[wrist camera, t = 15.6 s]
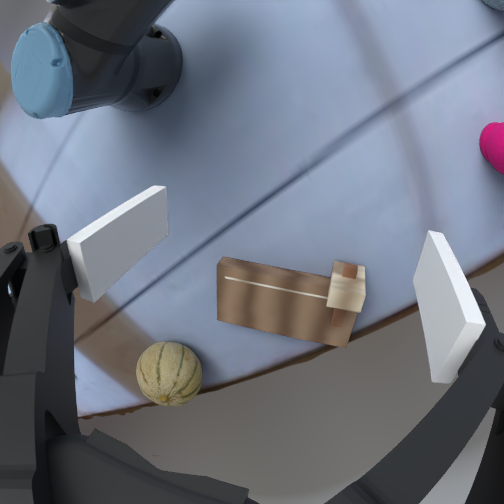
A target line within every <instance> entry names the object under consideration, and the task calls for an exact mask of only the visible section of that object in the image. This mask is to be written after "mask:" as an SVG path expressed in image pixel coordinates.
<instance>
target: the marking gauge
mask: <svg viewBox="0 0 504 504" xmlns="http://www.w3.org/2000/svg"><path fill="white" fill-rule="evenodd" d="M365 296H366V290H365V266H361V265H356V264H350V263H345V262H340V261H334V264H333V269H332V273H331V279H330V286H329V292H328V299H327V305H326V306H328V307H333V308H334V310H333V313H332V317H331V322H330V326H335V327H341V328H342V326H343V323H344V319H345V316H346V312H347V310H349V311H354V312H361V309H362V306H363V303H364V299H365Z"/></svg>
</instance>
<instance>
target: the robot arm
mask: <svg viewBox="0 0 504 504" xmlns="http://www.w3.org/2000/svg"><path fill="white" fill-rule="evenodd" d="M46 1H47V2H50V3H53V4H57V7H56V9H55V10H54V12H53V14H52V15H51V17H50V19H49V20H48V22H47V23H45V22H41V23H37V24H36V25H33V26H31V27H30V28H29V29H27V30H26V31H24V32H23V34H22V35H21V36H20V38H19V40H18V42H17V44H16V46H15V49H14V53H13V57H12V63H11V79H12V87H13V91H14V95H15V97H16V100H17V102H18V104H19V105H20V107H21V108H22V109H23V111H24V112H25V113H27V114H28V115H29V116H31V117H33V118H37V119H45V118H50V117H62V116H64V115H68V114H72V113H76V112H80V111H84V110H89V109H93V108H98V107H102V106H107V105H109V106H112V107H115V108H118V109H121V110H125V111H141V110H147V109H150V108H153V107H155V106H157V105H159V104H160V103H162V102H163V101H164V100H165V99H166V98H167V97H168V96H169V95H170V94H171V93H172V91H173V90H174V88H175V86H176V84H177V82H178V80H179V77H180V73H181V68H182V55H181V49H180V46H179V44H178V42H177V40H176V38H175V37H174V35H173V34H172V33H171V32H170V31H169V30H167V29H166V28H164V27H162V26H160V25H157V24H154V23H155V22H156V21H157V20H158V18H159V17H160V16H161V15H162V14H163V13H164V12H165V10H166V9H167V8H168V7H169V6H170V5H171V4H172V3H173V2H174V1H175V0H46ZM167 235H169V227H168V211H167V192H166V187H165V186H156V185H154V186H152V187H150V188H148V189H147V190H145V191H143V192H141V193H140V194H138V195H136V196H135V197H133V198H131V199H130V200H128V201H126V202H125V203H123V204H121V205H120V206H118V207H116V208H115V209H113V210H112V211H110V212H108V213H107V214H105V215H104V216H102V217H100V218H99V219H97V220H96V221H94V222H93V223H91V224H89V225H88V226H86V227H85V228H83V229H82V230H80V231H79V232H77V233H76V234H74V235H73V236H71V237H70V238H68V239H67V240H65V241H64V242H62V243H61V244H60V241H59V237H58V232H57V227H56V225H54V224H44V225H40V226H37V227H35V228H33V229H32V230H31V231H30V232H29V233H28V236H29V240H30V244H31V247H32V251H33V252H32V253H26V252H25V250H24V247H23V243H21V242H10V243H8V244H6V245H5V246H3V247H2V248H1V249H0V504H259V503H257V502H256V501H254V500H252V499H250V498H248V492H249V489H247V488H244V487H239V486H236V485H233V484H229V483H226V482H222V481H219V480H216V479H213V478H210V477H207V476H197V475H189V474H182V473H175V472H168V471H162V470H160V469H158V468H156V467H155V466H154V465H152V464H151V463H150V462H148V461H147V460H146V459H144V458H143V457H142V456H141V455H139V454H138V453H137V452H135V451H134V450H133V449H132V448H130V447H129V446H128V445H127V444H125V443H122V442H121V441H119V440H117V439H114V438H113V437H111V436H109V435H107V434H105V433H103V432H101V431H99V430H97V429H94V430H93V432H92V433H91V435H90V436H85V435H81V432H80V429H79V425H78V415H77V404H76V391H75V373H74V302H75V298H74V294H73V290H74V289H75V288H77V287H78V288H79V292H80V295H81V298H83V299H85V300H88V301H91V302H93V303H95V302H96V301H97V300H98V299H99V298H100V297H101V296H102V295H103V294H104V293H105V292H106V291H107V290H108V289H109V288H110V287H111V286H112V285H113V284H114V283H116V282H117V281H118V280H119V279H120V278H121V277H122V276H123V275H124V274H125V273H126V272H127V271H128V270H130V269H131V268H132V267H133V266H134V265H135V264H136V263H137V262H138V261H139V260H140V259H142V258H143V257H144V256H145V255H146V254H147V253H148V252H149V251H150V250H152V249H153V248H154V247H155V246H156V245H157V244H158V243H159V242H161V241H162V240H163V239H164V238H165V237H166V236H167ZM413 283H414V288H415V292H416V296H417V301H418V305H419V310H420V315H421V319H422V325H423V330H424V335H425V340H426V346H427V352H428V358H429V365H430V371H431V379H432V382H437V383H448V384H450V383H451V381H452V380H453V379H454V377H455V375H456V374H457V372H458V376H459V377H458V378H457V380H456V381H455V382H454V383H453V385H452V386H451V387H450V388H449V389H448V391H447V392H446V393H445V394H444V395H443V397H442V398H441V399H440V400H439V402H438V403H437V404H436V405H435V406H434V407H433V408H432V409H431V410H430V412H429V413H428V414H427V415H426V416H425V417H424V418H423V419H422V420H421V421H420V422H419V424H418V425H417V426H416V427H415V428H414V429H413V430H412V431H411V432H410V433H409V434H408V435H407V436H406V437H405V438H404V439H403V440H402V441H401V442H400V443H399V444H398V445H397V446H396V447H395V448H394V449H393V450H392V451H391V452H389V453H388V454H387V455H386V456H385V457H384V458H383V459H382V460H381V461H380V462H379V463H377V464H376V465H375V466H374V467H373V468H372V469H371V470H370V471H368V472H367V473H366V474H365V475H363V476H362V477H361V478H360V479H358V480H357V481H355V482H353V483H352V484H350V485H349V486H347V487H346V488H345V489H343V490H342V491H341V492H339V493H338V494H337V495H335V496H334V497H333V498H331V499H330V500H329V501H328V502H326V503H324V504H419V503H420V502H421V501H422V500H423V498H424V497H425V496H426V495H427V494H428V493H429V492H430V491H431V489H432V488H433V487H434V486H435V485H436V483H437V482H438V481H439V480H440V479H441V477H442V476H443V475H444V474H445V472H446V471H447V470H448V468H449V467H450V466H451V464H452V463H453V462H454V461H455V459H456V458H457V457H458V455H459V454H460V452H461V451H462V450H463V448H464V447H465V446H466V444H467V442H468V441H469V440H470V438H471V437H472V435H473V434H474V432H475V431H476V429H477V428H478V426H479V425H480V423H481V421H482V420H483V418H484V417H485V415H486V413H487V411H488V410H489V408H490V407H492V408H495V409H496V412H495V416H494V420H493V424H492V428H491V431H490V435H489V438H488V442H487V445H486V448H485V451H484V455H483V458H482V461H481V464H480V466H479V469H478V472H477V475H476V477H475V480H474V483H473V485H472V488H471V490H470V493H469V495H468V497H467V500H466V502H465V504H504V334H503V333H500V332H499V331H498V328H497V326H496V324H495V321H494V319H493V316H492V314H490V310H489V308H488V307H487V303H486V301H485V299H484V297H483V296H482V295H481V294H480V293H479V292H478V290H477V289H474V288H470V287H469V285H468V282H467V280H466V278H465V276H464V274H463V272H462V270H461V268H460V266H459V264H458V262H457V260H456V258H455V256H454V254H453V252H452V250H451V248H450V246H449V244H448V243H447V241H446V239H445V237H444V235H443V233H439V232H434V231H430V230H428V233H427V237H426V240H425V243H424V247H423V250H422V253H421V256H420V259H419V262H418V265H417V268H416V271H415V274H414V277H413ZM8 285H9V287H10V290H11V294H10V295H9V292H8Z"/></svg>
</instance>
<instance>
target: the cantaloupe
mask: <svg viewBox="0 0 504 504" xmlns="http://www.w3.org/2000/svg"><path fill="white" fill-rule="evenodd" d="M136 374H137V380H138V383H139V386H140V388H141V390H142V392H143V393H144V395H146V397H148V398H149V399H150V400H152V401H154V402H155V403H157V404H160V405H163V406H181V405H184V404H185V403H187V402H188V401H190V400H191V399H193V398H194V397H195V396H196V395H197V393H198V391H199V389H200V387H201V384H202V367H201V364H200V361H199V359H198V357H197V356H196V355H195V354H194V352H193V351H192V350H190V349H189V348H188V347H186V346H184V345H181V344H180V343H176V342H167V341H164V342H158V343H155V344H154V345H151V346H150V347H149V348H148V349H146V350H145V351H144V353H143V354H142V355H141V357H140V358H139V361H138V363H137V369H136Z"/></svg>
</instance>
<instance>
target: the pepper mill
mask: <svg viewBox="0 0 504 504" xmlns="http://www.w3.org/2000/svg"><path fill="white" fill-rule="evenodd" d="M480 149H481V152H482V154H483V156H484V157H485V159H486V160H487V161H489V162H490V163H491V164H492V166H493V167H494V168H495V169H496V170H497V171H498V172H500V173H502V174H504V122H503V123H490V124H488V125H487V126H486V127H485V128H484V129H483V131H482V133H481V136H480Z"/></svg>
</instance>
